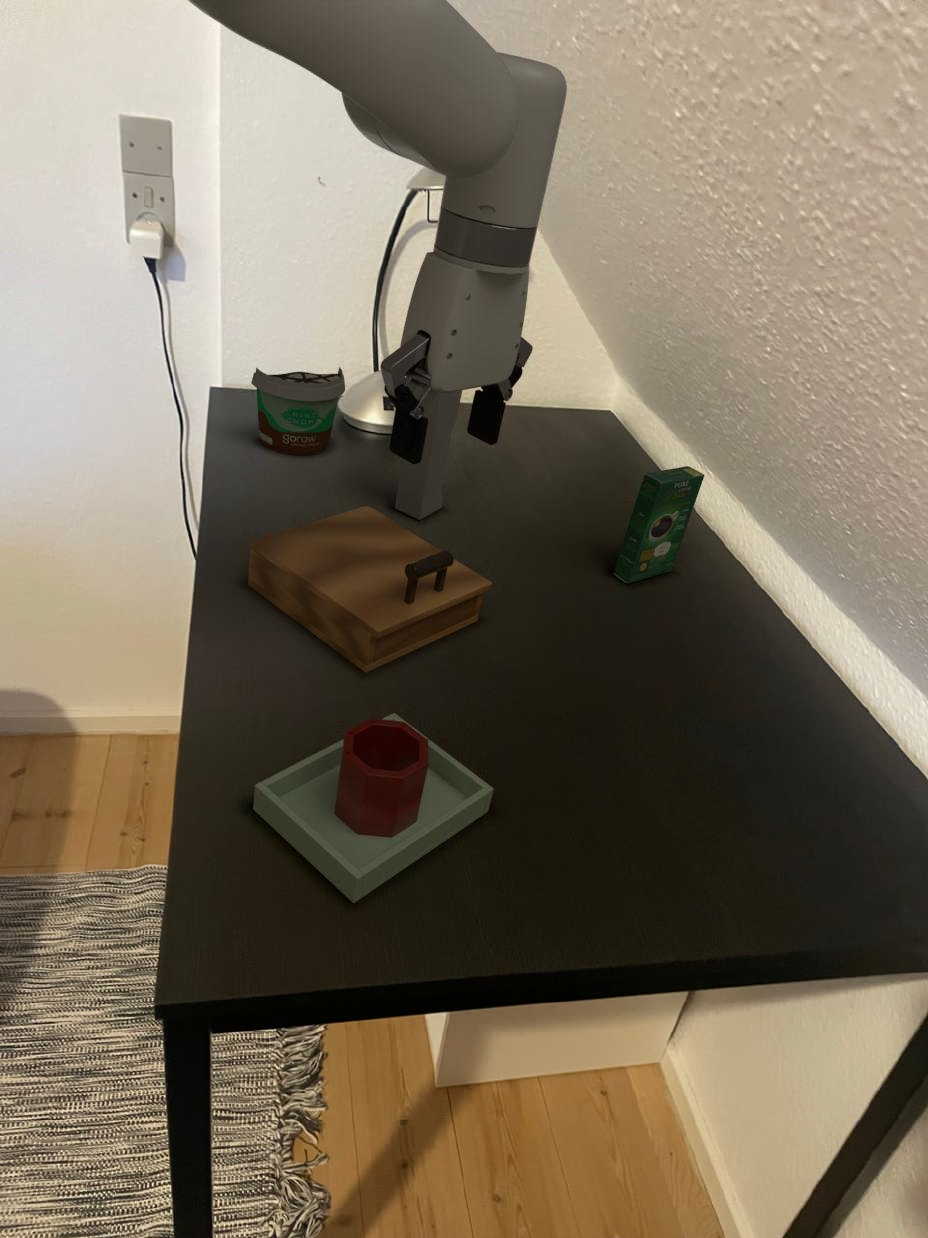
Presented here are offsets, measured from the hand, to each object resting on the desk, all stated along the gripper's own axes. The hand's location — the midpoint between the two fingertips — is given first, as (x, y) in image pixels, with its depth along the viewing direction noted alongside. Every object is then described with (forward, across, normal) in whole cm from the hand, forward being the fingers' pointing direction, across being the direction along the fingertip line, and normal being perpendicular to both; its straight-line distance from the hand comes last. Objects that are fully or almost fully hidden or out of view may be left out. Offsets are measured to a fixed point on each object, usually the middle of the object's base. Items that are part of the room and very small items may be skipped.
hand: (444, 447), depth 81 cm
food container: (+20, -19, -39) cm, 48 cm away
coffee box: (+20, -34, +6) cm, 40 cm away
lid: (+16, -1, -7) cm, 17 cm away
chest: (+20, -1, -7) cm, 22 cm away
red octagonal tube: (+20, +18, +15) cm, 31 cm away
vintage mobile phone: (+20, -21, -19) cm, 35 cm away
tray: (+20, +18, +15) cm, 31 cm away
